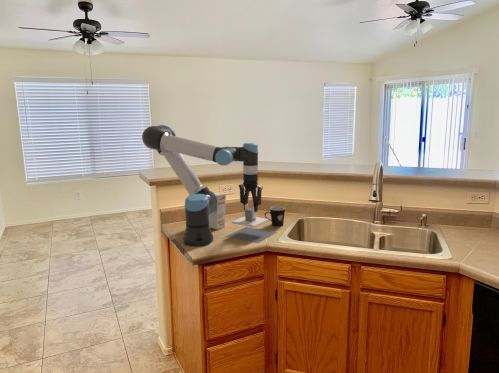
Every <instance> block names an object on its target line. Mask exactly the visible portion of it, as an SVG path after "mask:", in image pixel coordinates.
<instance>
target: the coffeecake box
mask: <svg viewBox="0 0 499 373" xmlns="http://www.w3.org/2000/svg"><path fill="white" fill-rule="evenodd" d="M212 192H213V193H214V194H215V195H216V196H217V199H218V204H217V207H216V209H215V210H214V211H213V212H212V213H210V214H209V226H210V229H213V230H217V231H218V230H220V229H221V230H222V229H224V228H225V227H226V223H225V222H226V193H221V192H220V193H219V192H214V191H212Z"/></svg>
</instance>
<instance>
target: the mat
mask: <svg viewBox="0 0 499 373" xmlns="http://www.w3.org/2000/svg"><path fill="white" fill-rule="evenodd" d="M277 233H278V232H277V231H272V230H267V229H261V228H257V227H255V228H254V227H249V226H245V227H242V228H241V229H239V230H237V231H234V232H232V233H230V234H228V235H225V238H230V239H235V240H241V241H245V242H249V243H256V244H259V243H261V242H262V241H265V240H267V238H270V237H271V236H273V235H275V234H277Z"/></svg>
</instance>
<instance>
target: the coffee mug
mask: <svg viewBox="0 0 499 373" xmlns="http://www.w3.org/2000/svg"><path fill="white" fill-rule="evenodd" d="M285 213H286V207H284V206H272V207H270V209H269V211H266V212H265V213H264V217H265V219H269V222H271V226H274V227H283V226H284V221H285ZM267 214H270V218H271V219H270V218H268V217H267Z"/></svg>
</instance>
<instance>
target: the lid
mask: <svg viewBox="0 0 499 373" xmlns="http://www.w3.org/2000/svg"><path fill="white" fill-rule="evenodd" d="M269 219H270V218H268V219H267V218H266V217H265V218H263V217H259V216H256V218H254V219H253V218H252V208H251V207H249V208H248V209H245V210H244V216H242V217H239V218H237V219H235V220H232V221H231V224H233V225H239V226H245V227H250V228H257V227H259V226H261V225H263V224H265V223H267V222H270V220H269Z"/></svg>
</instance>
